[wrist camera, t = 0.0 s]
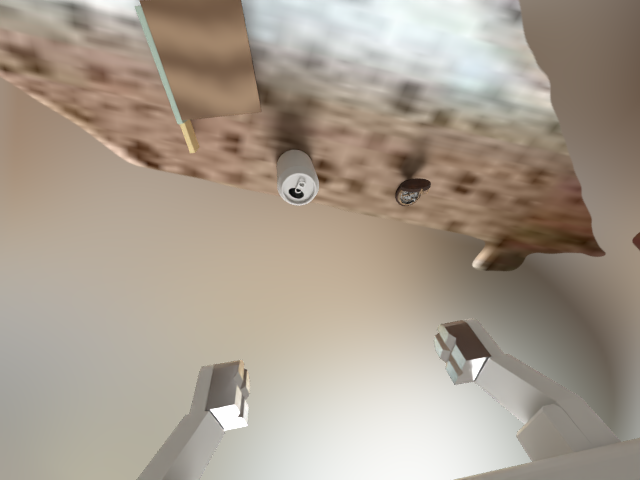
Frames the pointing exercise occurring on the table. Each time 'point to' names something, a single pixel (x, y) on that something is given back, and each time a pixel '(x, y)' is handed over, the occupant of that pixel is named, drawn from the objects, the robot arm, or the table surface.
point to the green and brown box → (204, 56)
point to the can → (296, 178)
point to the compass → (411, 191)
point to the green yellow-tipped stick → (168, 86)
